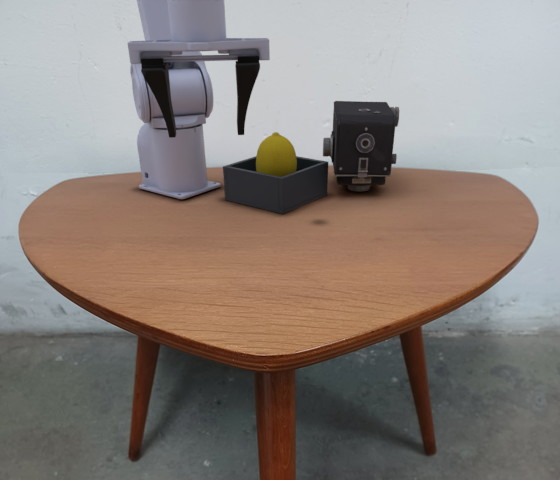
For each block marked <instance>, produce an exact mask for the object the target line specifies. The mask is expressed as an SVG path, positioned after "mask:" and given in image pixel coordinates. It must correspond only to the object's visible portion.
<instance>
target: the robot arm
mask: <svg viewBox="0 0 560 480" xmlns="http://www.w3.org/2000/svg"><path fill="white" fill-rule="evenodd" d="M136 5H137V8H138V13H139V18H140V23H141V28H142V33H143V37H144V40H130V41H128V42H127V49H128V57H129V63H130V68H129V69H130V70H129V71H130V78H131V86H132V87H131V88H132V89H131V90H132V95H133V102H134V106H135V110H136V114H137V116H138V118H139V120H140V121H142V123H143V125H142V126H141V127H140V128H139V131H138V133H137V139H136V146H137V153H138V159H139V167H140V174H141V179H142V183H141V184H139V185H138V189H139V190H144V191H147V192H151V193H156V194H159V195H161V196H167V197H171V198H175V199H178V200H185V199H189V198H191V197H194V196H197V195H200V194H203V193H206V192H209V191H212V190H215V189H218V188H220V187H221V185H222V184H221V183H220V182H216V181H213V180H208V171H207V159H206V158H207V157H206V148H205V137H204V125H205V124H206V123H207V119H208V118H209V117H210V116H211V114H212V112H213V111H214V89H213V83H212V79H211V76H210V74H209V72H208V70H207V66H206V62H219V61H220V62H225V61H227V62H228V61H235V65H234V66H235V81H236V82H235V83H236V96H237V97H236V98H237V100H236V102H237V103H236V104H237V105H236V128H237V129H236V130H237V136H244V135H245V125H246V119H247V118H246V117H247V112H248V107H249V103H250V99H251V96H252V93H253V90H254V87H255V84H256V81H257V78H258V76H259V73H260V70H261V63H260V61H270V60H271V59H270V58H271V57H270V53H271V52H270V39H269V38H268V37H261V38H260V37H234V38H233V37H227V23H226V10H225V0H136ZM216 51H217V53H218V54H203V53H202V52H216Z"/></svg>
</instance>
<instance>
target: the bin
mask: <svg viewBox="0 0 560 480" xmlns="http://www.w3.org/2000/svg"><path fill="white" fill-rule="evenodd" d="M256 156H257V155H256ZM256 156H253V157H252V156H251V157H249V158H246V159H243V160H239V161H236V162H234V163H230V164H225V165H223V166H222V175H223V176H222V177H223V188H224V200H225V201H229V202H231V203H232V202H233V203H237V204H240V205H245V206H248V207H253V208H256V209H261V210H265V211H268V212H273V213H277V214H281V215H284V214H286V213H289V212H291V211H293V210H295V209H298V208H300V207H303V206H305V205H307V204H310V203H312V202H314V201H316V200H319V199H321V198H323V197H325V196H327V195H328V188H329V187H328V185H329V184H328V183H329V161H326V160H320V159H315V158H309V157H303V156H297V155H296V159H297V169H296V172H294V173H291V174H288V175H286V176H283V177H280V176H275V175H270V174H265V173H260V172H257V171H256Z"/></svg>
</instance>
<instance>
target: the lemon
mask: <svg viewBox="0 0 560 480" xmlns="http://www.w3.org/2000/svg"><path fill="white" fill-rule="evenodd" d="M296 156H297V154H296V150H295V147H294V145H293V143H292V142H291V141H290V140H289V139H288V138H287V137H285V136H283V135H282V134H280V133H279V132H278V131H276V132H273V133H272V134H271V135H269V136H267V137H266V138H264V139H263V140H262V141H261V142H260V144H259V146H258V148H257V151H256V171H257V172H260V173H265V174H270V175H275V176H280V177H283V176H286V175H288V174H291V173H294V172H296V169H297V159H296Z"/></svg>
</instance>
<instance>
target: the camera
mask: <svg viewBox="0 0 560 480" xmlns="http://www.w3.org/2000/svg"><path fill="white" fill-rule="evenodd" d="M332 113H333V115H332V130H331V133H330V137H323V139H322V140H323V141H322V143H323V144H322V157H326V158H327V157H330V160H331V164H332V167H333V175H334V177H335V180H336V184H337V185H341V186H342V187H345V185H346V186H347V190H349V191H351V192H366V191H369V190H370V187H372V186H384V185H385V184H386V179H387V177H389V178H390V176H391V174H392V168H393V167H392V166H393V165H396V164H397V159H398V155H397V153H393V152H394V143H395V135H396V134H395V132H396V128H397V127H398V126H399V120H400V106H395V107H394V106H390V105H389V104H388V102H387V101H354V100H353V101H351V100H335V101H333V112H332Z"/></svg>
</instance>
